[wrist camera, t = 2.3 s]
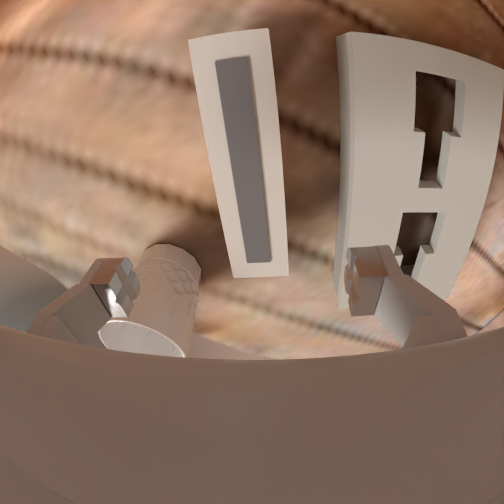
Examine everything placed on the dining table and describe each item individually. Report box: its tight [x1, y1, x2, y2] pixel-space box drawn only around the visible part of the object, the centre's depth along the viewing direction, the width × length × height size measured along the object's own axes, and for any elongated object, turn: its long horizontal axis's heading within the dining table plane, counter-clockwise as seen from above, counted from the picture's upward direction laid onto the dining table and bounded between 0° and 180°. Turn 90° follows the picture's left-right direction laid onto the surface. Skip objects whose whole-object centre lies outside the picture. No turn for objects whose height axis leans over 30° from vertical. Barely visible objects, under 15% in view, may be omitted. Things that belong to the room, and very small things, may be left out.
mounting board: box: [333, 32, 504, 309], centre depth 19 cm, size 22×12×4 cm, turn 7°
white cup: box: [98, 244, 201, 358], centre depth 25 cm, size 8×8×10 cm
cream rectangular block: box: [188, 28, 289, 278], centre depth 18 cm, size 16×4×6 cm, turn 7°
